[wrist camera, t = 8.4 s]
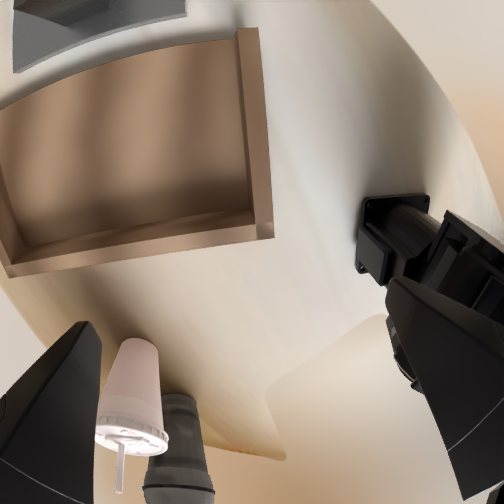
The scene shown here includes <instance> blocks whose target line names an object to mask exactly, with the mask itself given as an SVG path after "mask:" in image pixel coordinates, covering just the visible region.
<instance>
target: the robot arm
mask: <svg viewBox="0 0 504 504" xmlns="http://www.w3.org/2000/svg"><path fill="white" fill-rule="evenodd" d="M424 199H425V200H424ZM370 202H371V204H370V206H368V207H367V205H368V203H370ZM429 203H430V197H429V196H428V195H427V194H425V193H417V194H403V195H389V196H377V197H367V198H365V199H364V200H363V202H362V211H361V223H360V226H359V228H358V238H357V247H356V257H357V260H356V270H357V271H358V273H360V274H364V273H370V274H371V276H372V277H373V278H374V279H375V281H376V282H377V283H378V284H379V285H380V286H385V287H386V288H387V294H386V298H385V304H386V308H387V310H388V313H389V316H388V318H387V319H386V324H387V328H388V331H389V335H390V339H391V343H392V347H393V351H394V359H395V361H396V362H397V365H398V367H399V369H400V371H401V372H402V373H403V374H404V376H405V377H406V378H407V379H408V380H410V381H411V382H412V383H411V388H412V389H414V390H416V391H418V392H420V393H422V394H424V395H425V397H426V400H427V402H428V404H429V407H430V409H431V411H432V414H433V416H434V419H435V421H436V423H437V426H438V428H439V431H440V434H441V436H442V439H443V441H444V444H445V447H446V449H447V451H448V455H449V458H450V461H451V464H452V467H453V470H454V473H455V476H456V479H457V482H458V485H459V489H460V492H461V495H462V498H463V500H464V501H465V500H467V499H469V498H472V497H474V496H476V495H478V494H480V493H482V492H484V491H486V490H488V489H490V488H492V487H493V486H495V485H497V484H499V483H500V482H502V481H503V482H502V483H501V484H500V485H499V486H497V487H496V488H495V489H494V490H493V491H491V492H490V494H489V497H488V500H487V503H486V504H504V245H503V244H502V243H500V242H499V241H498V240H496V239H495V238H494V237H492V236H491V235H489V234H488V233H487V232H485V231H484V230H482V229H481V228H479V227H478V226H476V225H474V224H473V223H471V222H469V221H467V220H465V219H464V218H462V217H460V216H458V215H456V214H454V213H452V212H451V211H449V210H446V212H445V215H444V220H443V222H442V224H441V223H439V222H438V221H437V220H435V219H434V218H432V217H431V216H430V215H428V210H429ZM362 266H363V268H361V267H362ZM101 355H102V343H101V340H100V338H99V336H98V334H97V333H96V331H95V329H94V327H93V325H92V324H91V323H90V322H89V321H79V322H76V323H75V324H74V325H73V326H72V327H71V328H70V329H69V330H68V331H67V332H66V333H65V334H64V335H62V336H61V337H60V338H59V339H58V340H57V341H56V342H55V343H54V344H53V345H52V346H51V347H50V348H49V349H48V350H47V351H46V352H45V353H44V354H43V355H42V356H41V357H40V358H39V359H38V360H37V361H36V362H35V363H34V364H33V365H32V366H31V367H30V368H29V369H28V370H27V371H26V372H25V373H24V374H23V375H22V376H21V377H20V378H19V379H18V380H17V381H16V382H15V383H14V384H13V386H12V387H11V388H10V389H9V390H8V391H7V392H6V394H4V395H3V396H2V397H1V399H0V504H94V501H93V469H94V446H95V432H96V420H97V410H98V401H99V393H100V373H101Z"/></svg>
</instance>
